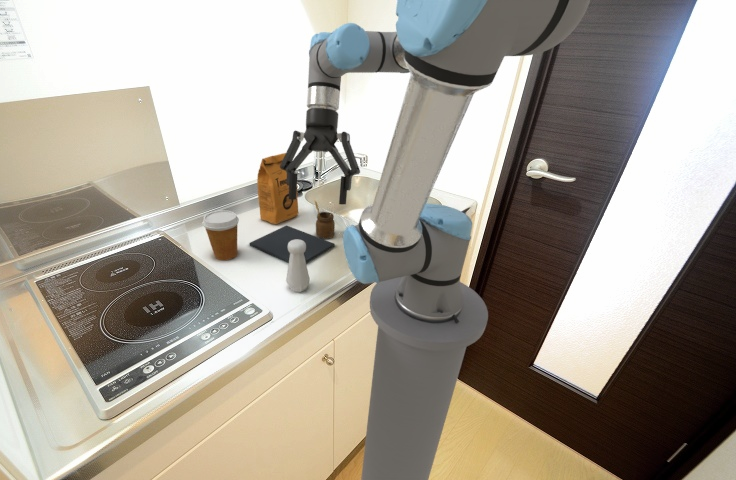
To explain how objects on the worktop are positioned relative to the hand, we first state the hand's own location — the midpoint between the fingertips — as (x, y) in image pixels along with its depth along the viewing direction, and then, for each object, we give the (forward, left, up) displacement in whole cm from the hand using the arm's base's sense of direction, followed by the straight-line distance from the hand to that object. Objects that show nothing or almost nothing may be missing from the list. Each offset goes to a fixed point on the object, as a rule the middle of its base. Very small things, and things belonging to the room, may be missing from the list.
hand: (316, 202), depth 90 cm
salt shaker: (-2, +10, -19) cm, 22 cm away
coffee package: (+31, -17, -19) cm, 40 cm away
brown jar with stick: (+11, -17, -19) cm, 28 cm away
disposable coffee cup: (+25, +11, -19) cm, 33 cm away
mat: (+14, -5, -19) cm, 24 cm away
